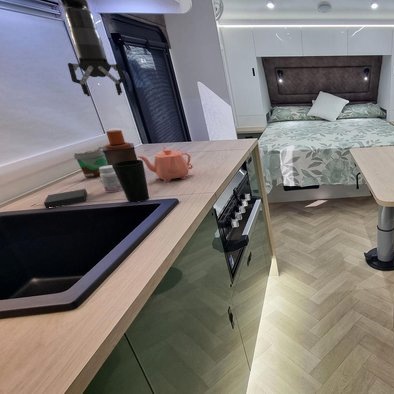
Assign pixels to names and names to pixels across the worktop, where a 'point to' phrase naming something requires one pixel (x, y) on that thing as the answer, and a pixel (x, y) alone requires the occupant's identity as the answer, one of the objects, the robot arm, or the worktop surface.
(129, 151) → the brown tapered pot
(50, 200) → the stand
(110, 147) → the hat
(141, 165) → the cup
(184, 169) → the teapot
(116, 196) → the worktop surface
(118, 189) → the pill bottle
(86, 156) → the food container
